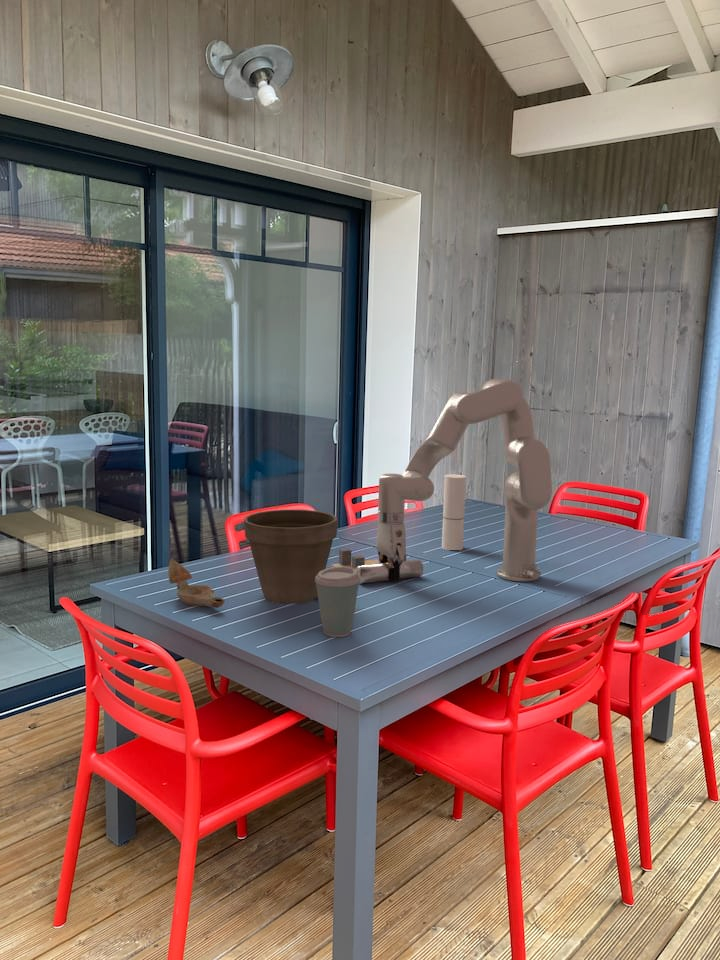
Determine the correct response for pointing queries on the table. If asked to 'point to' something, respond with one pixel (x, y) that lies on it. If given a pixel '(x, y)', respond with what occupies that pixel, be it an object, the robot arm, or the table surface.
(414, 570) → the tube
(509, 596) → the table surface
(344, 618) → the disposable coffee cup
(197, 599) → the oil lamp
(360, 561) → the plate
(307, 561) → the plant pot
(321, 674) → the table surface
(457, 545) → the cylindrical container
